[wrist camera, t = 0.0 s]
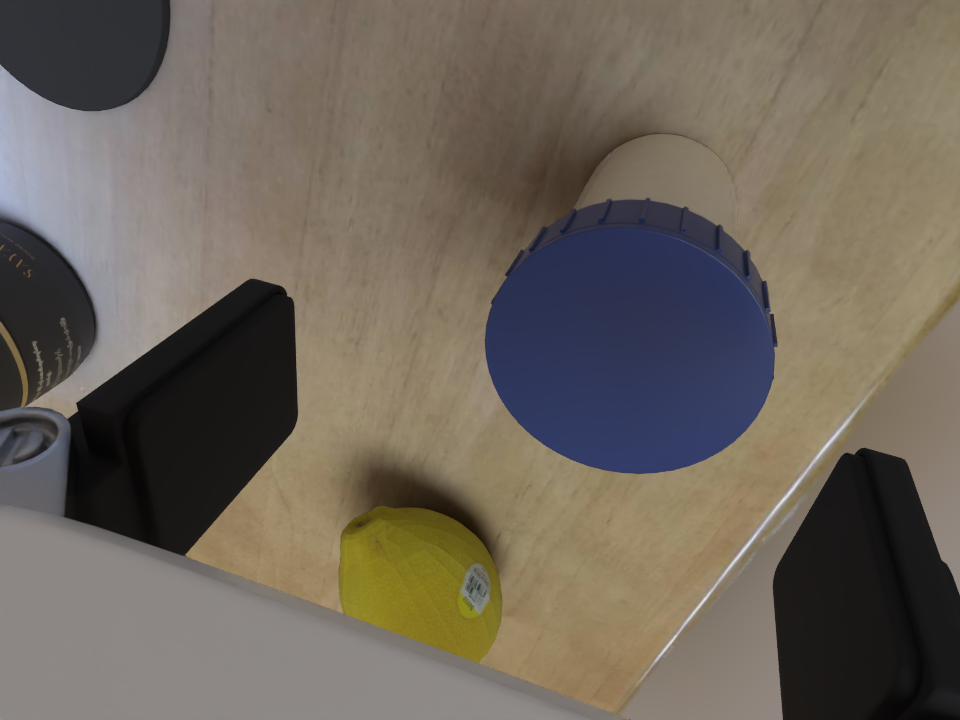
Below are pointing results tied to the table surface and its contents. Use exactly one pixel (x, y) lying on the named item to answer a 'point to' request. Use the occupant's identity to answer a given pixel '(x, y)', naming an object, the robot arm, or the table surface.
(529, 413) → the jar lid
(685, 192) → the cream canister
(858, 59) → the table surface
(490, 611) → the lemon
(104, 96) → the coaster
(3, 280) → the jar
